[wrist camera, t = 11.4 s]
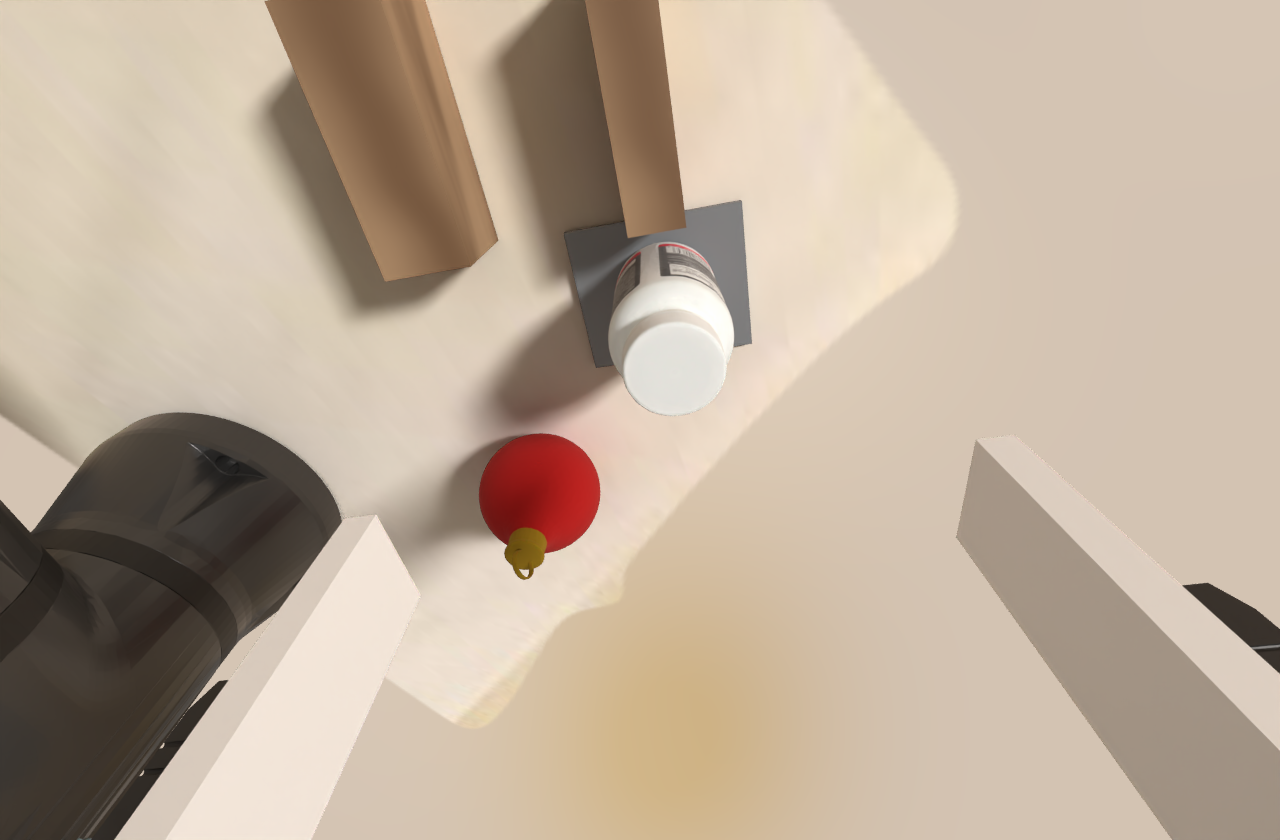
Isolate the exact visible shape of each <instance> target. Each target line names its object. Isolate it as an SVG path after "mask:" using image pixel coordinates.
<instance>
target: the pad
mask: <svg viewBox="0 0 1280 840" xmlns="http://www.w3.org/2000/svg"><path fill="white" fill-rule="evenodd" d="M684 212H685V220H686V228H682V229H676V230H671V231H665V232H659V233H654V234H648V235H643V236H637V237H632V238H628V236H627V230H626V225H625V221H624V222H618V223H613V224H608V225H602V226H597V227H591V228H586V229H580V230H575V231H569V232H565V233H564V237H565V241H566V246H567V250H568V254H569V258H570V262H571V266H572V270H573V275H574V279H575V283H576V287H577V291H578V295H579V299H580V304H581V308H582V312H583V316H584V320H585V324H586V328H587V333H588V337H589V341H590V345H591V349H592V353H593V357H594V361H595V366H596V368H598V367H604V366H611V365H614V363H613V361H612V358H611V355H610V351H609V343H608V333H609V325H610V320H611V314H612V308H613V299H614V293H615V288H616V283H617V279H618V276H619V274H620V271H621V269H622V268H623V266H624V264H625V263H626V261H627V260H628V259H629V258H630V257H631V256H632V255H633V254H634V253H636V252H637V251H639V250H640V249H642V248H644V247H646V246H648V245H651V244H654V243H659V242H676V243H680V244H683V245H686V246H688V247H691V248H692V249H694V250H696V251H697V252H698V253H699V254H701V255H702V256H703V257H704V259H705V260H706V261H707V262H708V264H709V266H710V267H711V269H712V271H713V274H714V276H715V278H716V281H717V283H718V286H719V288H720V291H721V293H722V296H723V298H724V301H725V303H726V306H727V307H728V310H729V312H730V315H731V317H732V322H733V328H734V344H733V346H739V345H746V344H752V338H751V324H750V310H749V296H748V282H747V268H746V253H745V239H744V225H743V211H742V201H741V200H739V201H733V202H728V203H722V204H717V205H711V206H706V207H700V208H695V209H690V210H684Z"/></svg>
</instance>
